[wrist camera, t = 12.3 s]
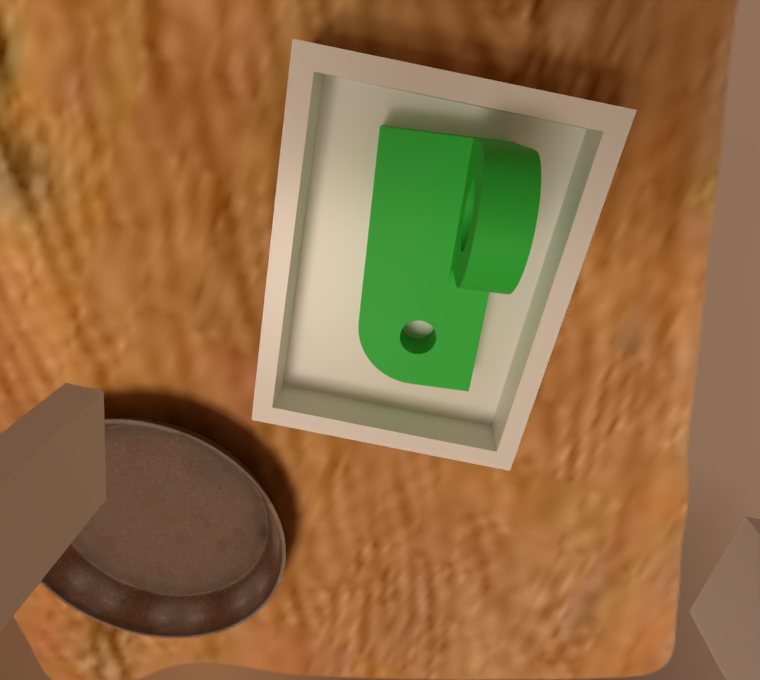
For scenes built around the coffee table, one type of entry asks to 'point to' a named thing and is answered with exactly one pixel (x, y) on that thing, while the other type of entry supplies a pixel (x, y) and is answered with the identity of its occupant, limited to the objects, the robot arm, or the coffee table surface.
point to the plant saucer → (172, 537)
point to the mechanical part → (442, 248)
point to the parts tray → (349, 243)
